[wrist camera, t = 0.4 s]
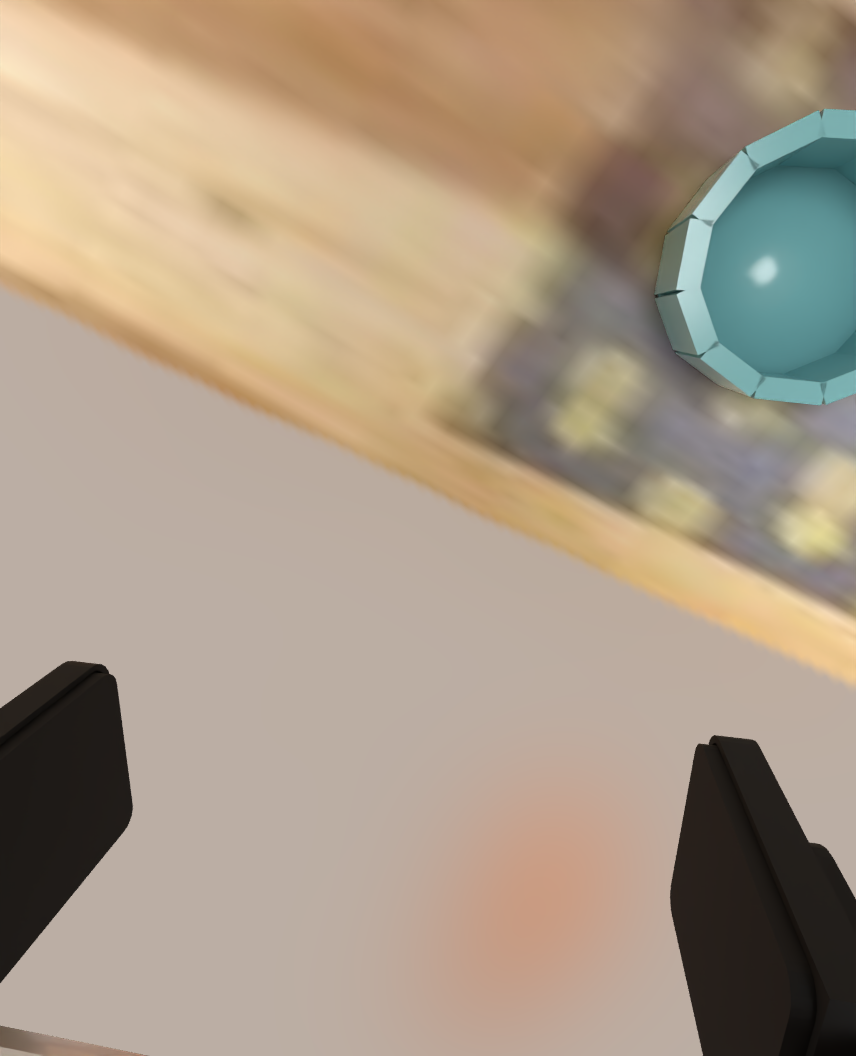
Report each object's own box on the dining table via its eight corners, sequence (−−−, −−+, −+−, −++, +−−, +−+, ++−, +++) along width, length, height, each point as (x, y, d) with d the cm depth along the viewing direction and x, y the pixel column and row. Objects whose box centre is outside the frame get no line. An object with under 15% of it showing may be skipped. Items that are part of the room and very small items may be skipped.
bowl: (682, 140, 33) (712, 103, 27) (934, 155, 31) (1021, 118, 26) (638, 377, 36) (657, 388, 31) (862, 400, 35) (924, 416, 29)
